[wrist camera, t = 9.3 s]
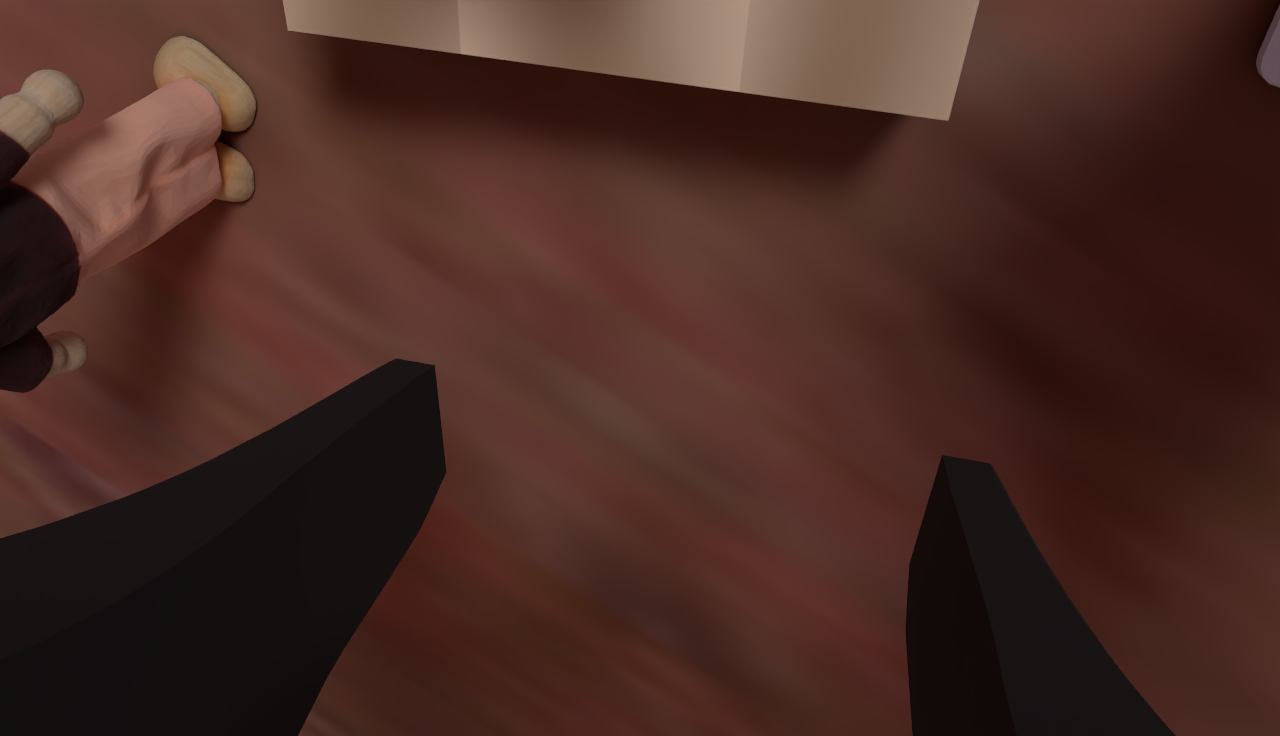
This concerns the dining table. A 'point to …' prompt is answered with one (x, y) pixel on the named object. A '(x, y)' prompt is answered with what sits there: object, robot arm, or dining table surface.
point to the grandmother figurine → (105, 190)
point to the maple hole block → (693, 42)
